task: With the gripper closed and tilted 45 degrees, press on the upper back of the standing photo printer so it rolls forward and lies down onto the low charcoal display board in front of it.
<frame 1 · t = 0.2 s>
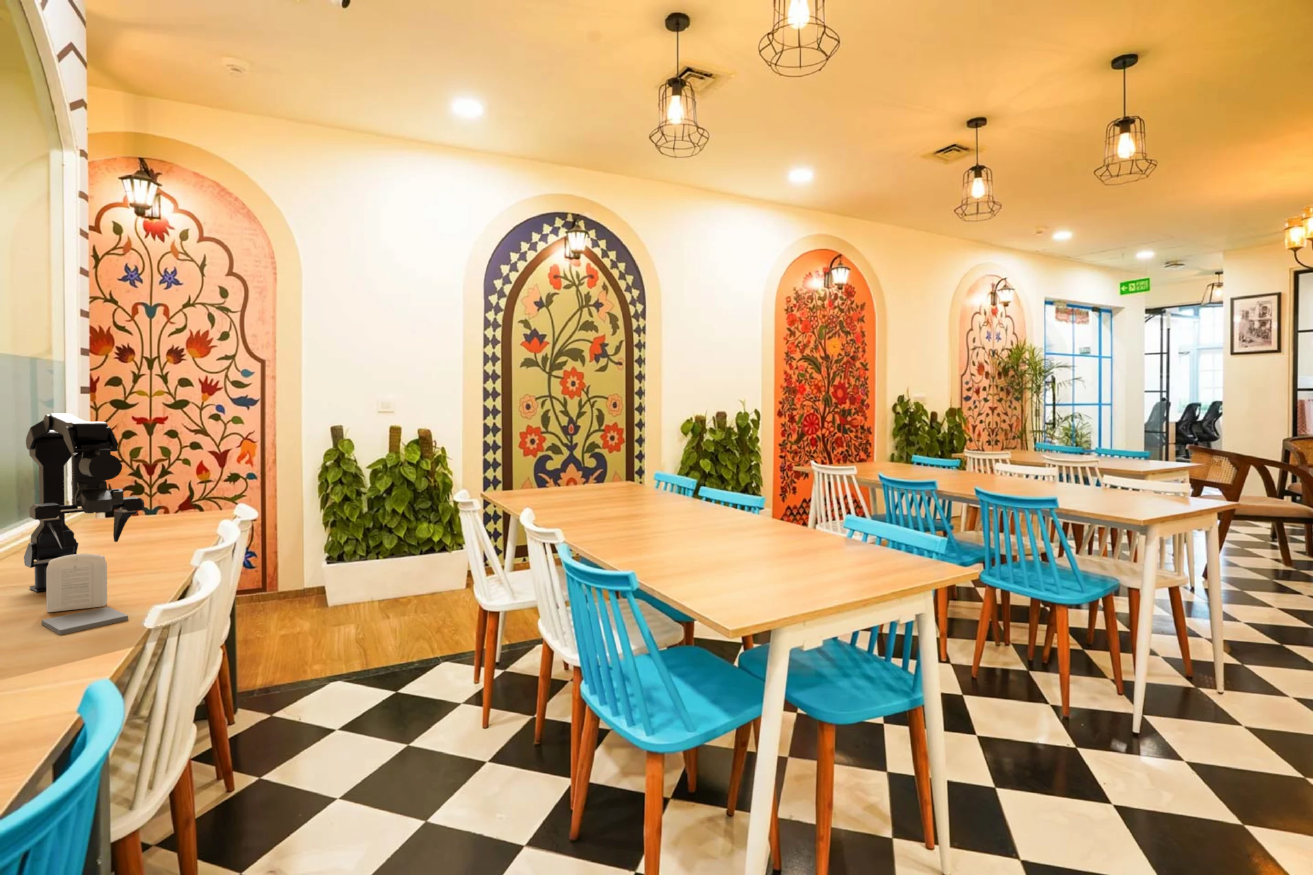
hand: (90, 544, 143), 14 cm above the table, tool pointing down, fingers open, 9 cm apart
display board: (85, 622, 133), on the table
photo printer: (77, 609, 142), on the table
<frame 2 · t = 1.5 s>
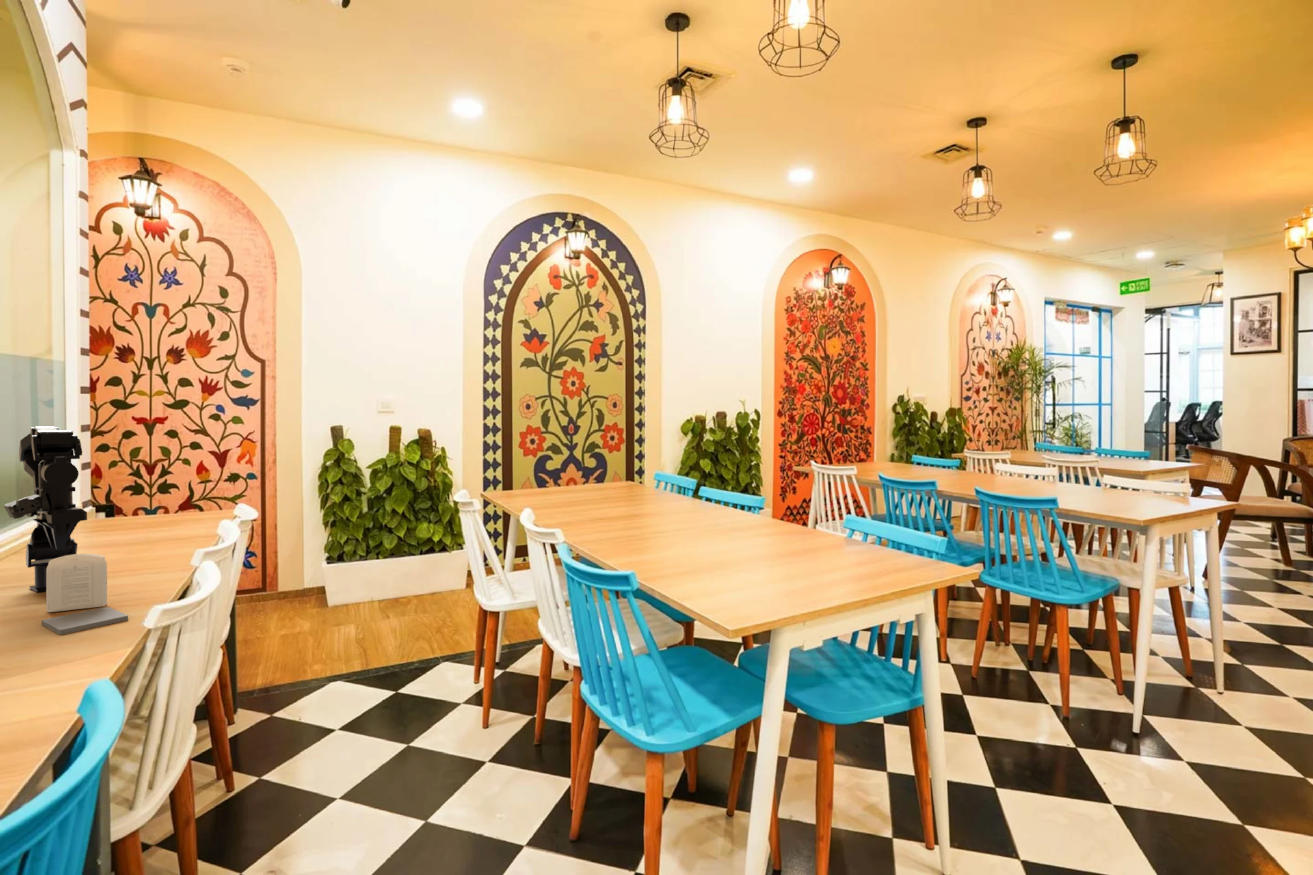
hand: (57, 548, 149), 12 cm above the table, tool pointing down, fingers open, 3 cm apart
nothing on the table moved.
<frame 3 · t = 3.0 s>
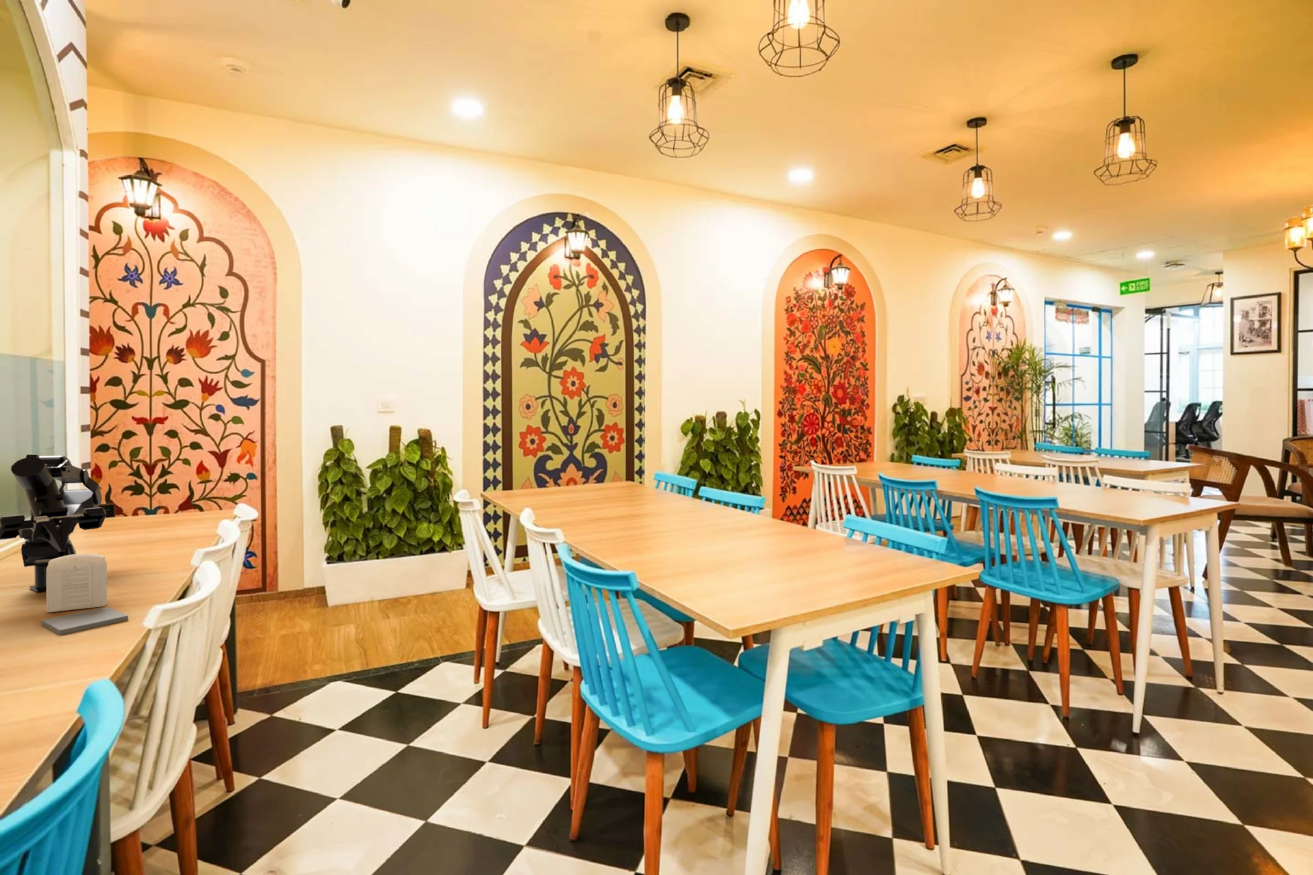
hand: (62, 550, 147), 12 cm above the table, tool tilted 45°, fingers closed
nothing on the table moved.
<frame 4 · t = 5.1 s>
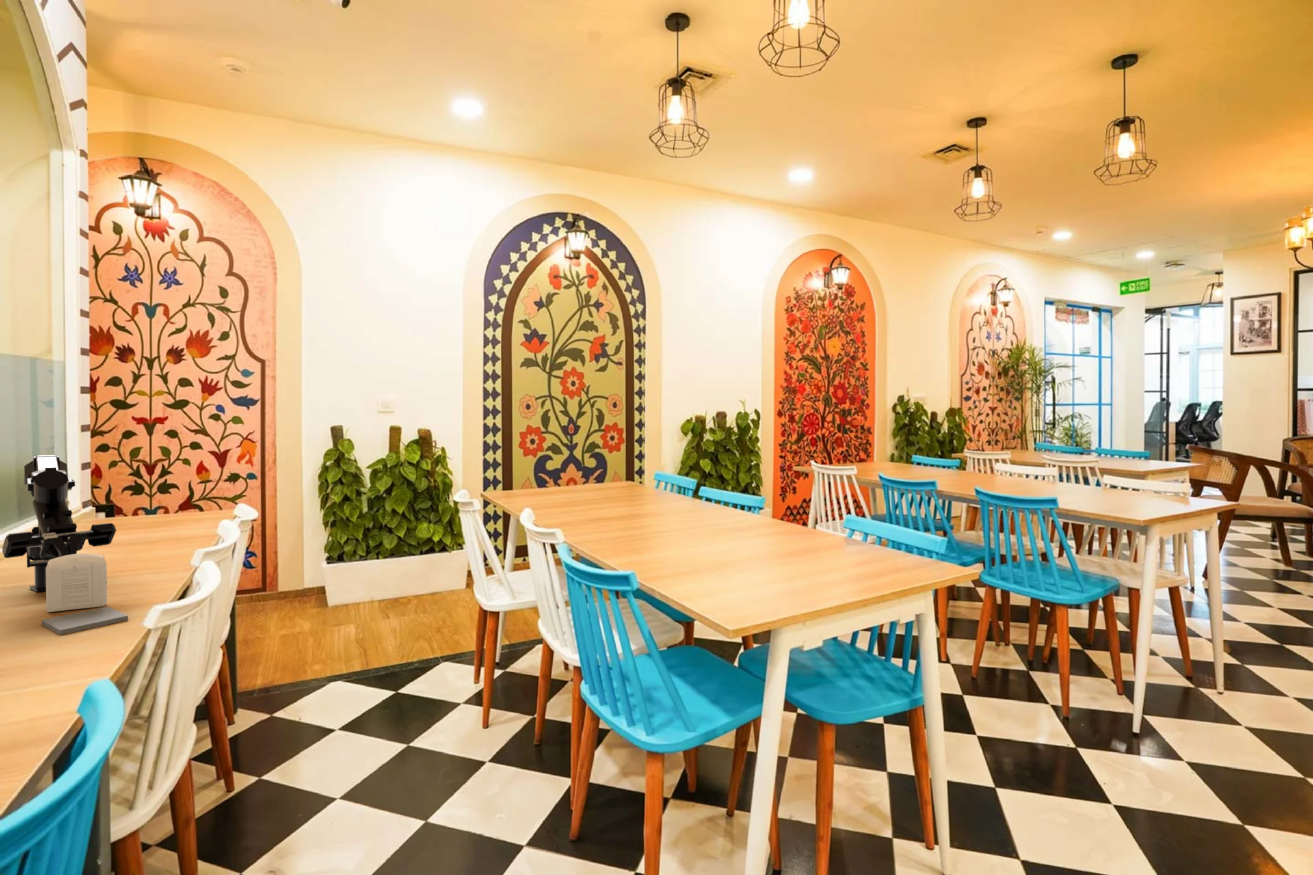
hand: (71, 568, 143), 9 cm above the table, tool tilted 45°, fingers closed
photo printer: (77, 608, 142), on the table, touching gripper
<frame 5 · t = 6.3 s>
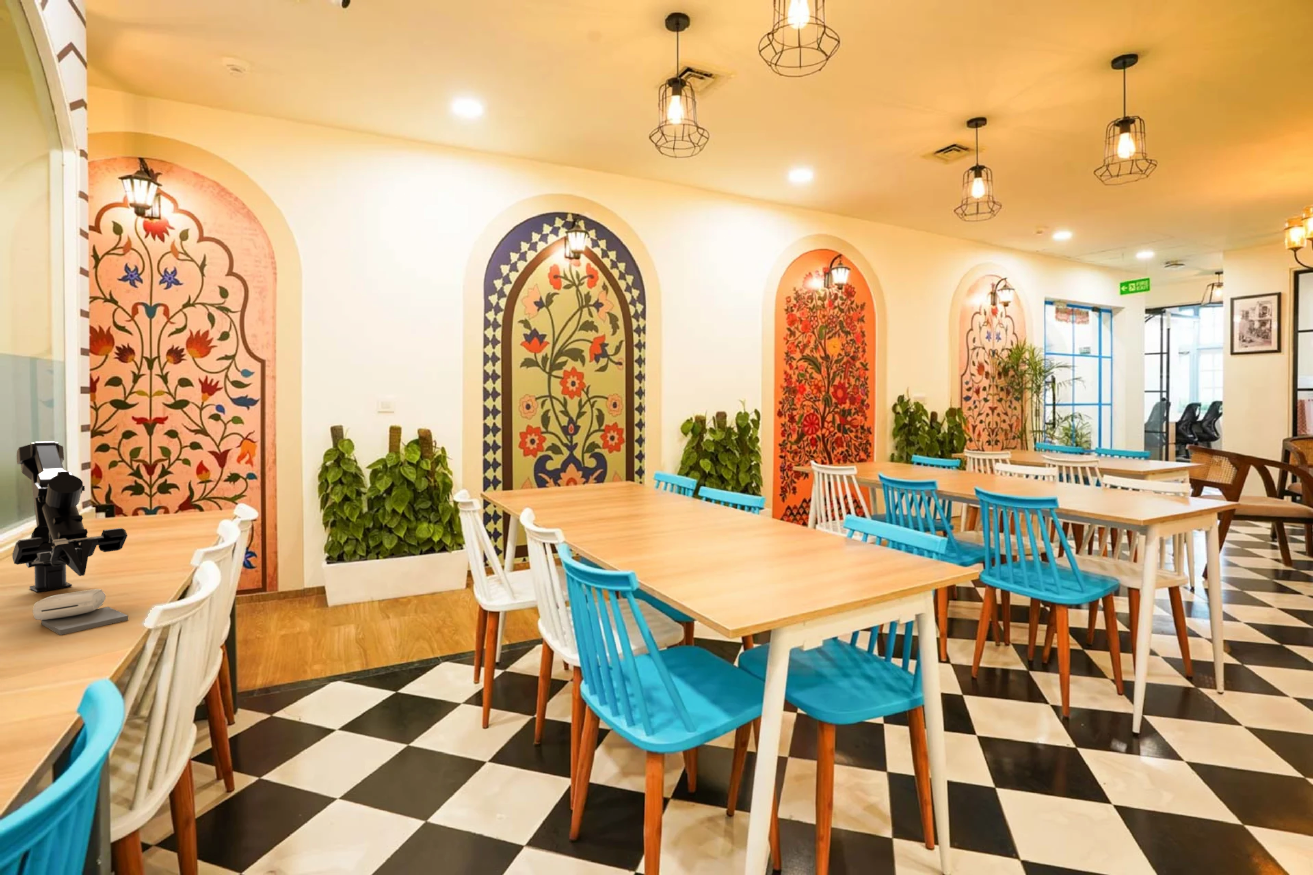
hand: (82, 574, 140), 8 cm above the table, tool tilted 45°, fingers closed
photo printer: (76, 600, 141), point 2 cm above the table, touching display board
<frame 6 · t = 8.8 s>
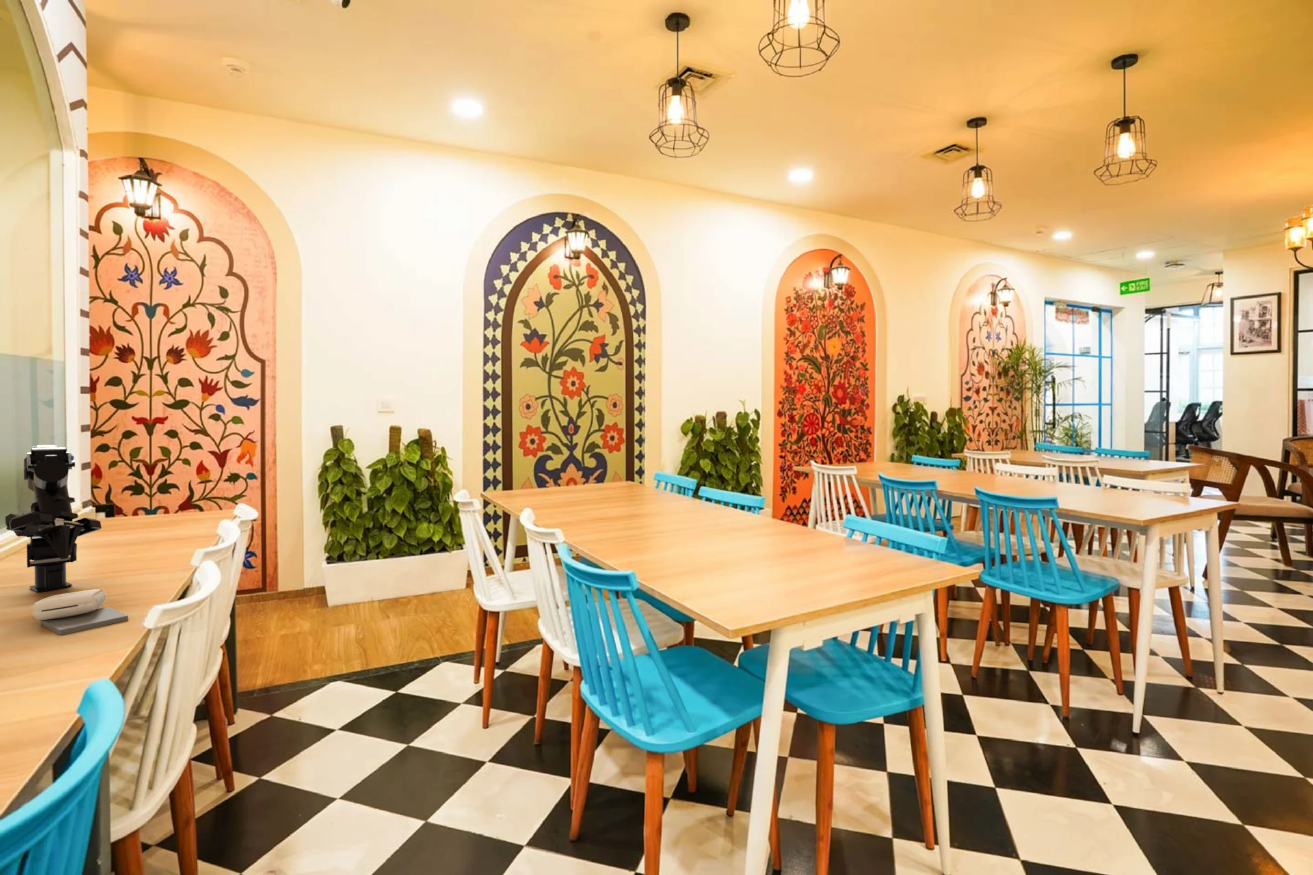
hand: (64, 558, 146), 10 cm above the table, tool tilted 25°, fingers closed
nothing on the table moved.
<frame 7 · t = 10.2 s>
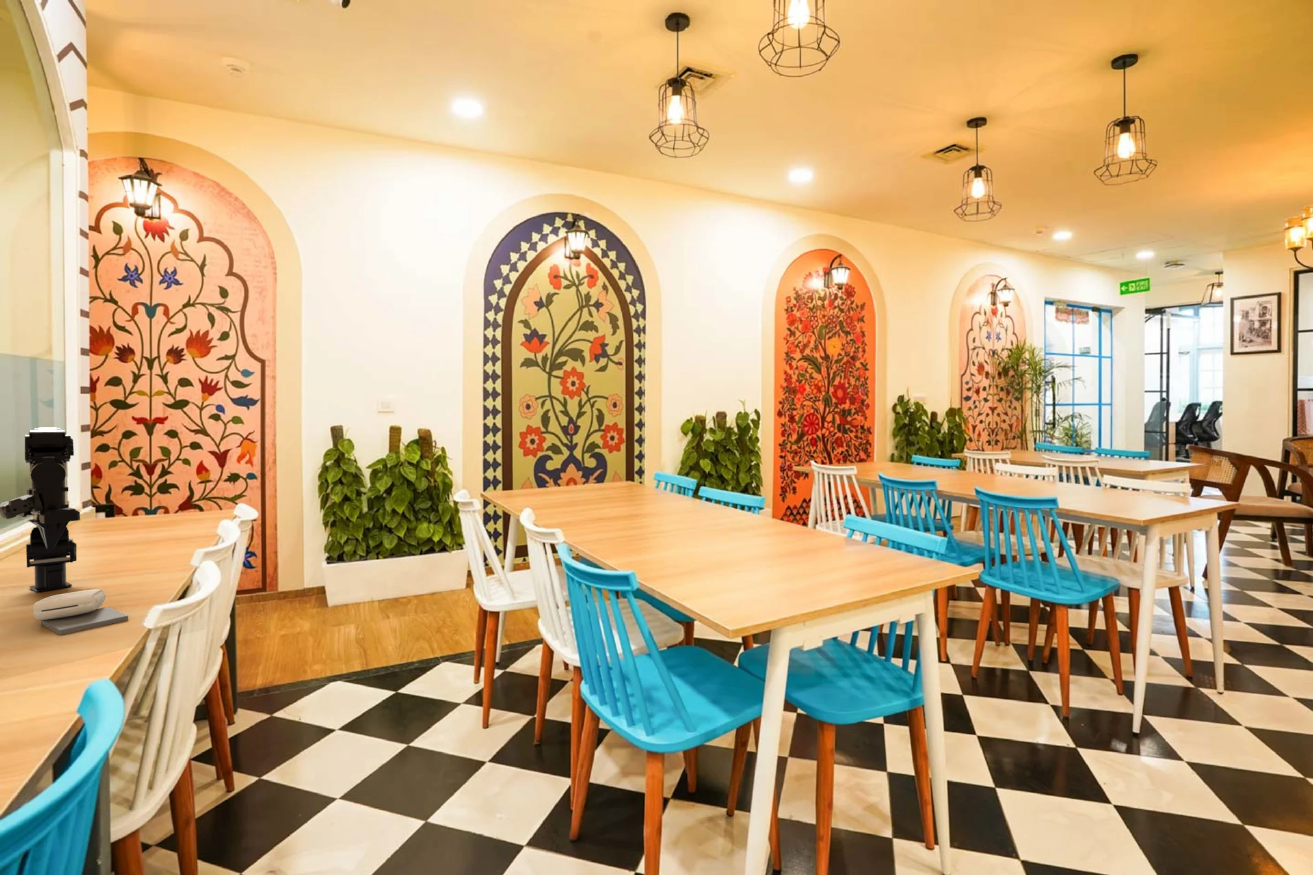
hand: (50, 548, 148), 12 cm above the table, tool pointing down, fingers closed
nothing on the table moved.
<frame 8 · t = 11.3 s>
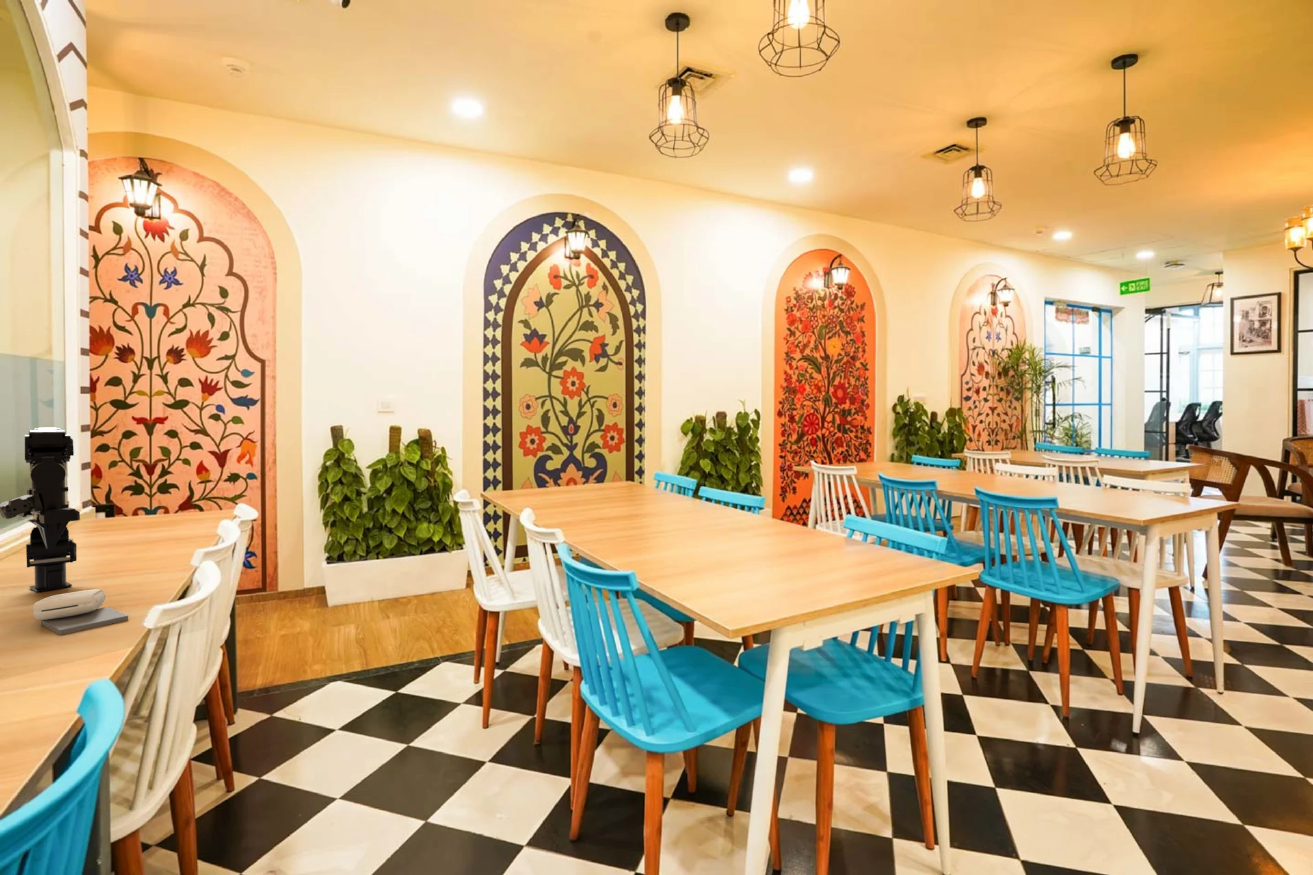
hand: (50, 548, 148), 12 cm above the table, tool pointing down, fingers closed
nothing on the table moved.
at the end: photo printer tilted 82°; photo printer inside the target area (9.0 cm from its centre), point 2.2 cm above the table; photo printer touching display board, table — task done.
